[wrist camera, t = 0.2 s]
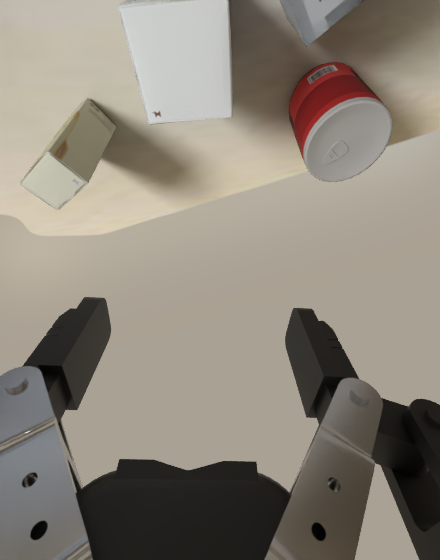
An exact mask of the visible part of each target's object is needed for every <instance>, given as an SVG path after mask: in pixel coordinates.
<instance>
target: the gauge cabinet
mask: <svg viewBox="0 0 440 560" xmlns="http://www.w3.org/2000/svg"><path fill="white" fill-rule="evenodd" d="M362 1H363V0H280V2H281V5H282V7H283V9H284V12H285V14H286V17H287V19H288V20H289V22H290V23H291V25H292V26H293V27H294V29H295V30H296V32H297V33H298V35H299V36H300V38H301V39H302V40H303V42H304V43H305V45H306V46H308V45H309V44H311V43H312V42H313V41H314V40H316V39H317V38H318V37H319V36H320V35H322V34H323V33H324V32H325V31H327V30H328V29H329V28H330V27H331V26H333V25H334V24H335V23H336V22H338V21H339V20H340V19H341V18H342V17H344V16H345V15H346V14H347V13H349V12H350V11H351V10H352V9H353V8H355V7H356V6H357V5H358V4H360V3H361V2H362Z"/></svg>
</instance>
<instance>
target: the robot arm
mask: <svg viewBox="0 0 440 560" xmlns="http://www.w3.org/2000/svg"><path fill="white" fill-rule="evenodd" d="M110 333H111V324H110V319H109V314H108V308H107V303H106V300H105V298H95V297H85V298H83V300H82V302H81V303H80V304H79V306H78V307H77V309H69V310H68V311H66V312H65V313H64V314H62V315H61V316H59V318H58V319H57V320H56V322H55V323H54V324H53V326H52V328H50V330H49V331H48V332H47V334H46V336H45V337H44V338H43V339H42V341H41V342H40V343H39V345H38V346H37V347H36V349H35V350H34V351H33V353H32V354H31V356H30V357H29V358H28V359H27V361H26V362H25V363H24V365H23V366H22V367H18V368H15V369H12V370H10V371H8V372H6V373H4V374H3V375H1V376H0V560H354V559H355V555H356V550H357V546H358V541H359V536H360V532H361V527H362V523H363V518H364V514H365V509H366V504H367V500H368V495H369V490H370V486H371V482H372V477H373V473H374V467H375V463H376V464H379V465H381V467H382V470H383V472H384V475H385V477H386V479H387V482H388V484H389V487H390V489H391V492H392V494H393V496H394V499H395V501H396V504H397V506H398V509H399V511H400V514H401V516H402V518H403V521H404V523H405V526H406V528H407V531H408V533H409V535H410V538H411V540H412V543H413V545H414V548H415V550H416V553H417V555H418V557H419V560H440V405H439V404H437V403H435V402H432V401H430V400H426V399H416V400H414V401H413V402H412V403H411V404H410V406H409V407H408V406H405V405H401V404H398V403H395V402H392V401H389V400H386V399H383V398H381V397H380V395H379V393H378V392H377V391H376V390H375V389H374V388H373V387H372V386H371V385H369V384H368V383H366V382H364V381H362V380H360V379H359V378H358V376H357V374H356V372H355V370H354V368H353V367H352V365H351V363H350V361H349V359H348V357H347V355H346V353H345V351H344V349H342V346H341V344H340V342H339V341H338V338H337V336H336V334H335V332H334V331H333V329H332V328H331V327H330V326H329V325H328V324H326V323H325V322H324V321H318V319H317V317H316V315H315V313H314V311H313V310H312V309H304V308H294V309H293V311H292V314H291V317H290V321H289V325H288V328H287V332H286V337H285V343H286V349H287V353H288V356H289V360H290V363H291V366H292V369H293V373H294V376H295V379H296V383H297V387H298V390H299V393H300V397H301V400H302V404H303V407H304V410H305V414H306V417H310V418H317V420H318V423H319V426H318V429H317V431H316V433H315V435H314V438H313V440H312V442H311V444H310V447H309V449H308V451H307V454H306V456H305V458H304V460H303V463H302V465H301V467H300V470H299V472H298V474H297V476H296V478H295V481H294V483H293V485H292V487H291V489H290V492H288V491H287V490H286V489H285V488H284V487H282V486H281V485H280V484H279V483H277V482H276V481H274V480H272V479H271V478H269V477H267V476H265V475H263V474H260V473H258V472H257V464H256V462H244V461H240V462H239V461H222V462H218V463H215V464H211V465H208V466H204V467H200V468H197V469H193V470H184V469H181V468H177V467H174V466H171V465H168V464H165V463H162V462H159V461H156V460H137V459H136V460H135V459H134V460H133V459H120V460H119V463H118V467H117V470H116V471H113V472H110V473H108V474H105V475H102V476H101V477H99V478H97V479H95V480H93V481H92V482H90V483H89V484H88V485H86V486H85V487H83V486H82V483H81V480H80V477H79V474H78V472H77V469H76V466H75V463H74V459H73V456H72V453H71V450H70V447H69V444H68V440H67V438H66V434H65V431H64V427H63V424H62V421H61V418H62V416H63V414H64V412H65V410H77V409H78V407H79V405H80V403H81V400H82V398H83V396H84V394H85V392H86V389H87V387H88V385H89V383H90V381H91V378H92V376H93V374H94V372H95V370H96V367H97V365H98V363H99V361H100V359H101V356H102V354H103V352H104V350H105V348H106V345H107V343H108V341H109V338H110Z"/></svg>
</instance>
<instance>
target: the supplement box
mask: <svg viewBox="0 0 440 560" xmlns="http://www.w3.org/2000/svg"><path fill="white" fill-rule="evenodd" d="M118 8H119V14H120V18H121V22H122V26H123V29H124V33H125V36H126V40H127V44H128V48H129V52H130V55H131V59H132V63H133V67H134V71H135V76H136V80H137V82H138V86H139V89H140V93H141V97H142V101H143V105H144V109H145V112H146V116H147V120H148V124H150V125H152V124H161V123H171V122H182V121H195V120H208V119H220V118H230V117H232V112H233V87H232V47H231V27H230V13H229V0H126V1H125V2H123V3H120V4H119V6H118Z"/></svg>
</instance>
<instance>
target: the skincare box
mask: <svg viewBox="0 0 440 560" xmlns="http://www.w3.org/2000/svg"><path fill="white" fill-rule="evenodd" d="M115 129H116V126H115V125H114V124H113V123H112V122H111V121H110V120H109V119H108V118H107V117H106V116H105V115H104V114H103V113H102V111H101V110H100V109H99V108H97V106H95V105H94V104H93V103H92V102H91V101H90V100H89V99H88V98H87V99H85V101H84V102H83V103H82V104H81V105H80V106H79V107H78V108H77V109H76V110H75V111H74V112H73V114H72V115H71V116H70V117H69V119H68V120H67V121H66V122H65V124H64V125H63V126H62V128H61V129H60V130H59V132H58V133H57V134H56V136H55V137H54V138H53V140H52V141H51V142H50V144H49V145H48V146H47V148H46V149H45V150H44V152H43V153H42V154H41V156H40V157H39V158H38V159H37V161H36V162H35V163H34V165H33V166H32V167H31V169H30V170H29V171H28V173H27V174H26V175H25V177H24V178H23V179H22V181H21V182H20V185H21V186H22V187H24V188H25V189H27V190H28V191H30V192H31V193H33V194H34V195H35V196H37V197H38V198H40V199H41V200H43V201H44V202H46V203H47V204H49V205H50V206H52V207H53V208H54V209H56V210H60V209H61V208H62V207H63V206H64V205H65V204H66V203H67V202H68V201H70V200H71V199H72V198H73V197H74V196H75V195H76V194H77V193H78V192H79V191H80V190H81V189H83V188H84V187H85V186H86V185H87V184H88V183H89V180H90V179H91V177H92V175H93V173H94V171H95V169H96V167H97V165H98V163H99V161H100V159H101V157H102V155H103V153H104V151H105V149H106V147H107V145H108V143H109V141H110V139H111V137H112V135H113V133H114V131H115Z"/></svg>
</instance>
